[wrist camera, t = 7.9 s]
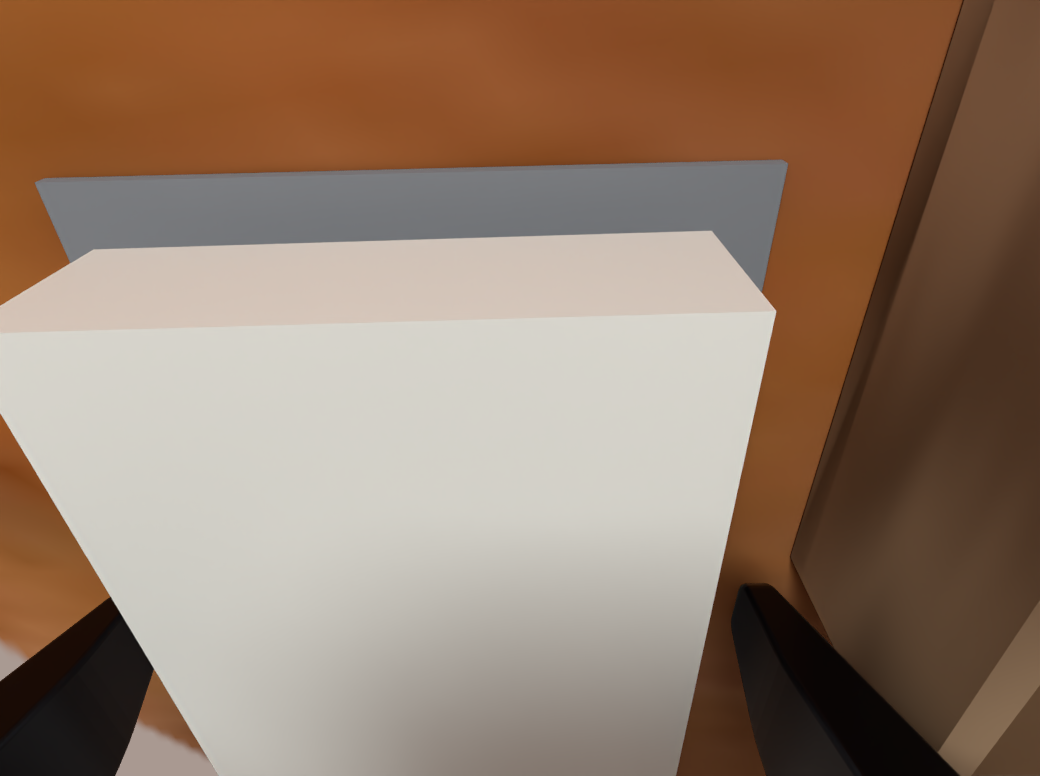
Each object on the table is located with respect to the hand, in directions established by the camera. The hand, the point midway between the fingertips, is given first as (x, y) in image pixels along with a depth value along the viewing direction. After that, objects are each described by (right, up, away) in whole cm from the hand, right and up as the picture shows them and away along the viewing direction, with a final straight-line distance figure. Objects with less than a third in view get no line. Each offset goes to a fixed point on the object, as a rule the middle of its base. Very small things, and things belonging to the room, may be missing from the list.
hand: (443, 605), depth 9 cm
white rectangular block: (0, 0, 0) cm, 1 cm away
